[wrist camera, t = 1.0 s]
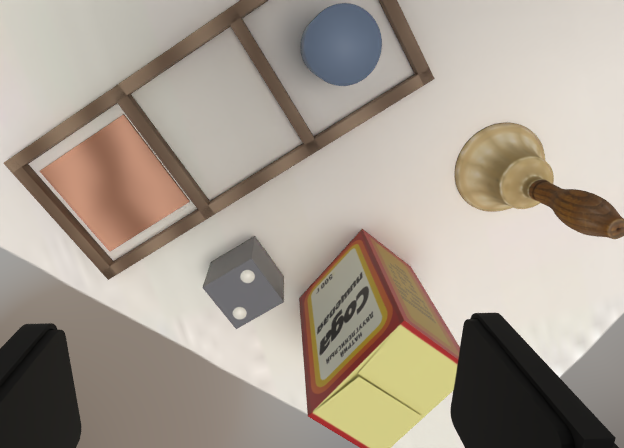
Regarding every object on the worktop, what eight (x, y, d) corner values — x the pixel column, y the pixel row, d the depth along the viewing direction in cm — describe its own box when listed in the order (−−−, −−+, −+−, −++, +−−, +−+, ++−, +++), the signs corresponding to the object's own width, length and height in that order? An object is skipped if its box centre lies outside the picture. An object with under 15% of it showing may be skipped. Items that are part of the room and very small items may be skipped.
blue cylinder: (342, 0, 36) (358, -14, 28) (372, 58, 37) (395, 59, 30) (288, 36, 36) (290, 31, 29) (320, 90, 38) (330, 100, 31)
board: (356, -78, 34) (358, -81, 33) (430, 78, 38) (434, 78, 37) (10, 160, 38) (3, 163, 37) (111, 274, 43) (108, 279, 42)
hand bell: (436, 183, 42) (522, 256, 27) (493, 104, 39) (622, 136, 25) (503, 225, 44) (619, 315, 29) (561, 152, 41) (719, 209, 26)
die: (254, 235, 42) (251, 258, 38) (283, 275, 44) (283, 302, 39) (211, 262, 43) (202, 288, 38) (240, 300, 45) (236, 329, 40)
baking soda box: (362, 228, 43) (405, 323, 28) (411, 267, 45) (476, 375, 30) (299, 298, 45) (308, 420, 30) (348, 331, 47) (379, 463, 32)
